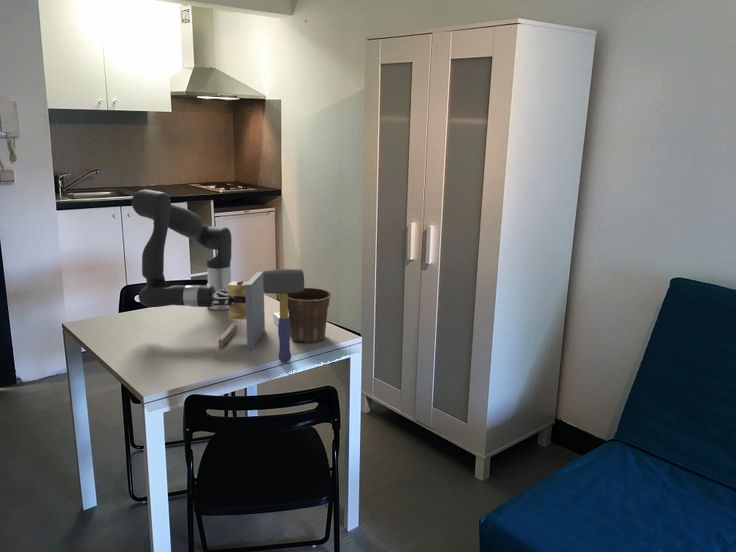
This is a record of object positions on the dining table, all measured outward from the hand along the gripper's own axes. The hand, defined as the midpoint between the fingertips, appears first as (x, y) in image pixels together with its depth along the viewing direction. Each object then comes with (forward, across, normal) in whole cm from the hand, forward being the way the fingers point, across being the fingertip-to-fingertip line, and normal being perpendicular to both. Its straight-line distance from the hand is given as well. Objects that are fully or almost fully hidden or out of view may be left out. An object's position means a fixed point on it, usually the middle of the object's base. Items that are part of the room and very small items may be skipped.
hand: (247, 297), depth 207 cm
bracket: (+11, +16, +15) cm, 25 cm away
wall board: (-2, 0, +15) cm, 15 cm away
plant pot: (+20, +3, +15) cm, 26 cm away
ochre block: (-3, 0, +7) cm, 7 cm away
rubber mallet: (+16, -20, +15) cm, 30 cm away
